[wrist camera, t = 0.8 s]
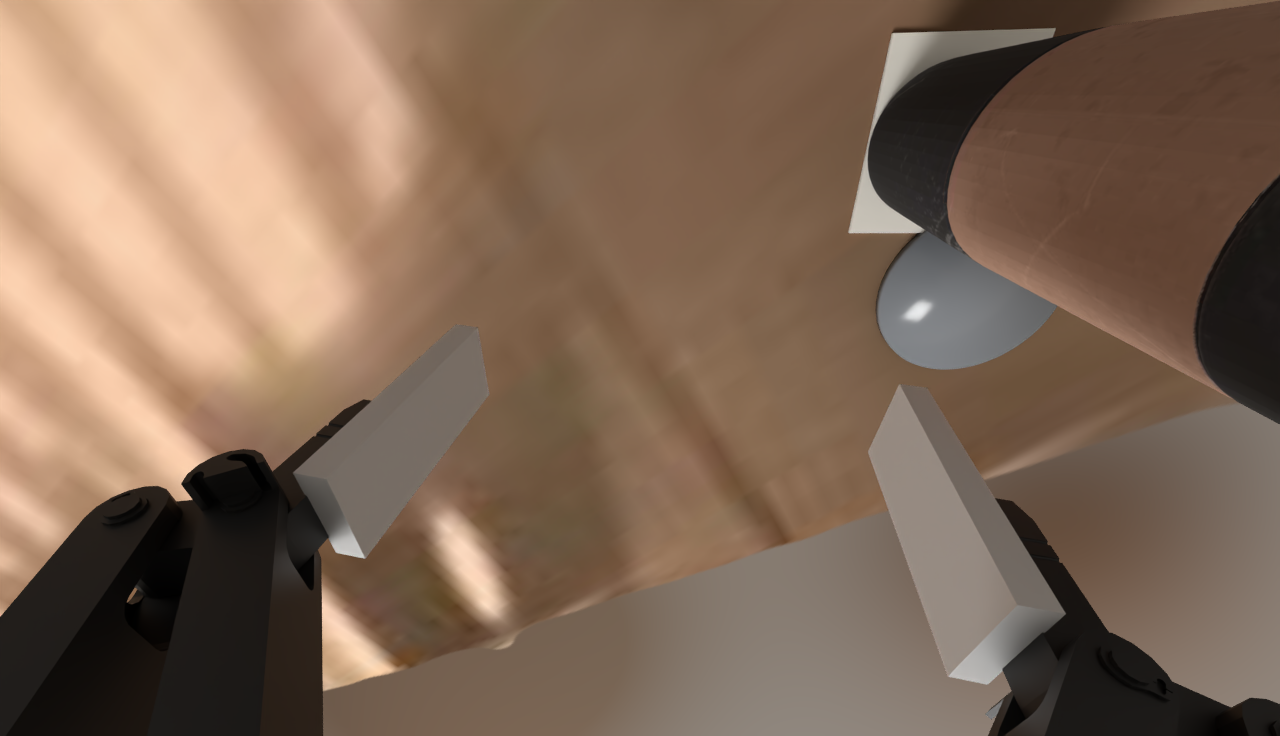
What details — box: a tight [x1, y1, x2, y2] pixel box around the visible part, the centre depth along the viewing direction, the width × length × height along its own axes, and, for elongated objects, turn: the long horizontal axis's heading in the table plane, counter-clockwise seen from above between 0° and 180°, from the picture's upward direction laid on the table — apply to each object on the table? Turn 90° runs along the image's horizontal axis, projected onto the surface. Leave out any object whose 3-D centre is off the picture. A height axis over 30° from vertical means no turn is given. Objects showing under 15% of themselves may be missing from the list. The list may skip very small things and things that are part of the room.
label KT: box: [848, 28, 1056, 233], centre depth 23 cm, size 9×7×1 cm
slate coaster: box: [876, 231, 1057, 369], centre depth 26 cm, size 10×10×1 cm
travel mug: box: [868, 1, 1280, 424], centre depth 14 cm, size 8×8×20 cm
